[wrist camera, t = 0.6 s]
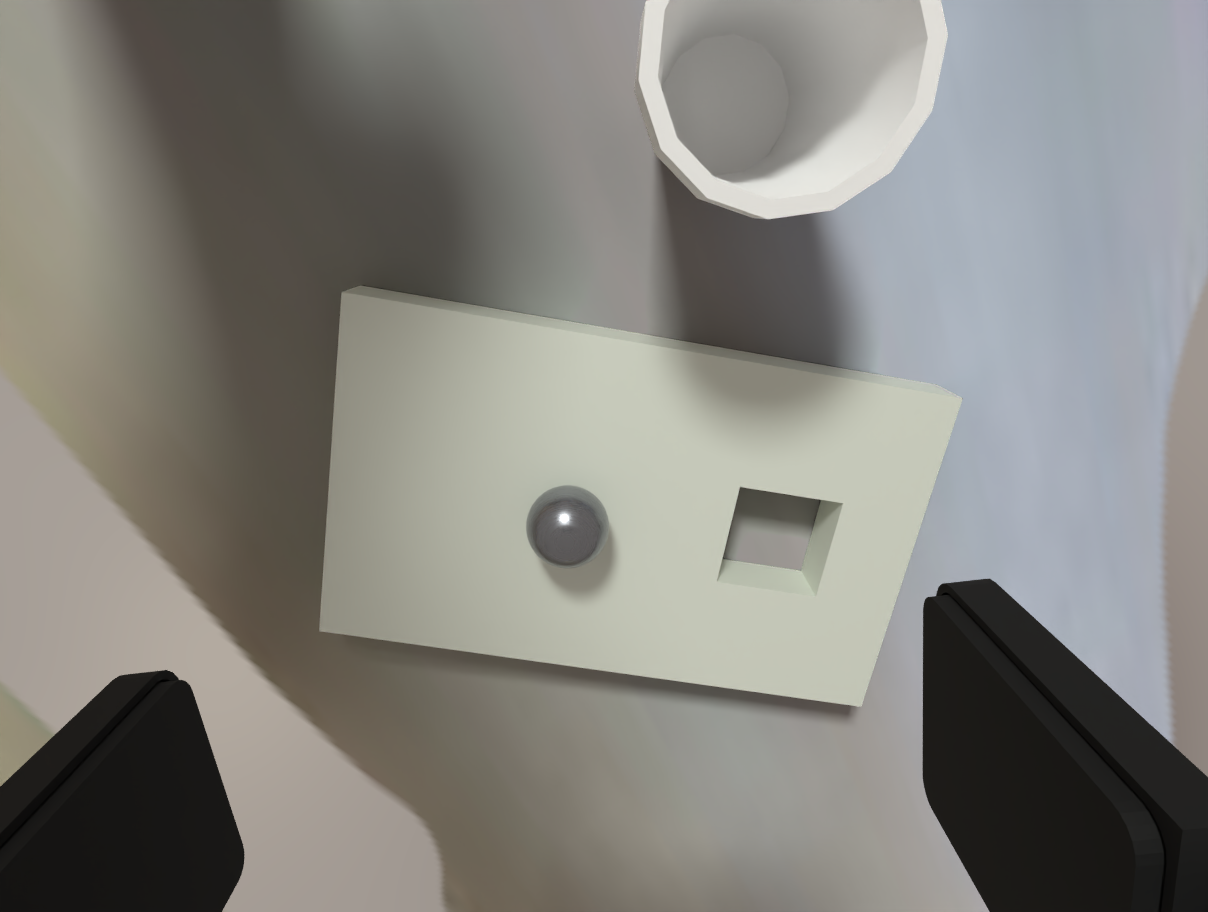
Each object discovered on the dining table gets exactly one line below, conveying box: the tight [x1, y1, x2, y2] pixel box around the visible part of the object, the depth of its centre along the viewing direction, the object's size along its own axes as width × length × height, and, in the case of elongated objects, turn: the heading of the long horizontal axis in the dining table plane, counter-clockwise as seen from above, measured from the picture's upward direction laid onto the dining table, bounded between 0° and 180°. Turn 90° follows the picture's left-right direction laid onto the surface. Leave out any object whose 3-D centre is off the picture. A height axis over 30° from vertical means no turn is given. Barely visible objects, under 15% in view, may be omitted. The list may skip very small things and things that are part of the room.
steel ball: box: [526, 485, 609, 569], centre depth 37 cm, size 4×4×4 cm
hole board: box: [319, 285, 963, 707], centre depth 40 cm, size 30×18×3 cm, turn 80°
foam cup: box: [634, 0, 948, 219], centre depth 29 cm, size 10×9×13 cm
